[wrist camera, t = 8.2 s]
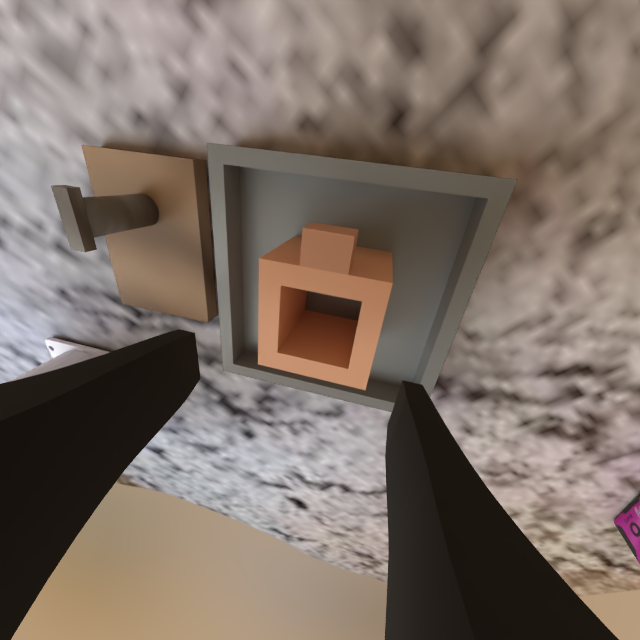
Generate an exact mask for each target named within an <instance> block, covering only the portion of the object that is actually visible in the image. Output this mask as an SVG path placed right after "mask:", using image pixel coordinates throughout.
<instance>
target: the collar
mask: <svg viewBox="0 0 640 640" xmlns="http://www.w3.org/2000/svg"><path fill="white" fill-rule="evenodd" d="M358 232H359V229H352V228H346V227H340V226H334V225H328V224H321V223H315V222H312V223H310V224H308V225H306V226H305V227H303V230H302V237H298V236H294V237H293V238H291V239H289V240H288V241H286V242H285V243H283V244H281V245H280V246H278V247H276V248H275V249H273V250H272V251H270V252H268V253H267V254H265V255H264V256H262V257H260V258H259V305H258V364H259V365H263V366H267V367H271V368H275V369H280V370H284V371H288V372H292V373H296V374H300V375H304V376H308V377H313V378H317V379H321V380H325V381H329V382H333V383H337V384H341V385H346V386H350V387H354V388H358V389H362V390H366V386H367V382H368V378H369V374H370V370H371V367H372V363H373V359H374V355H375V351H376V347H377V343H378V339H379V335H380V331H381V327H382V324H383V320H384V316H385V312H386V308H387V304H388V300H389V296H390V292H391V288H392V285H393V261H392V252H387V251H381V250H375V249H369V248H363V247H357V246H356V243H357V238H358ZM307 291H312V292H317V293H322V294H327V295H332V296H337V297H342V298H347V299H352V300H357V301H362V305H361V310H360V315H359V320H358V321H357V320H352V319H347V318H342V317H337V316H333V315H328V314H323V313H318V312H313V311H309V310H305V305H306V295H307Z"/></svg>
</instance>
